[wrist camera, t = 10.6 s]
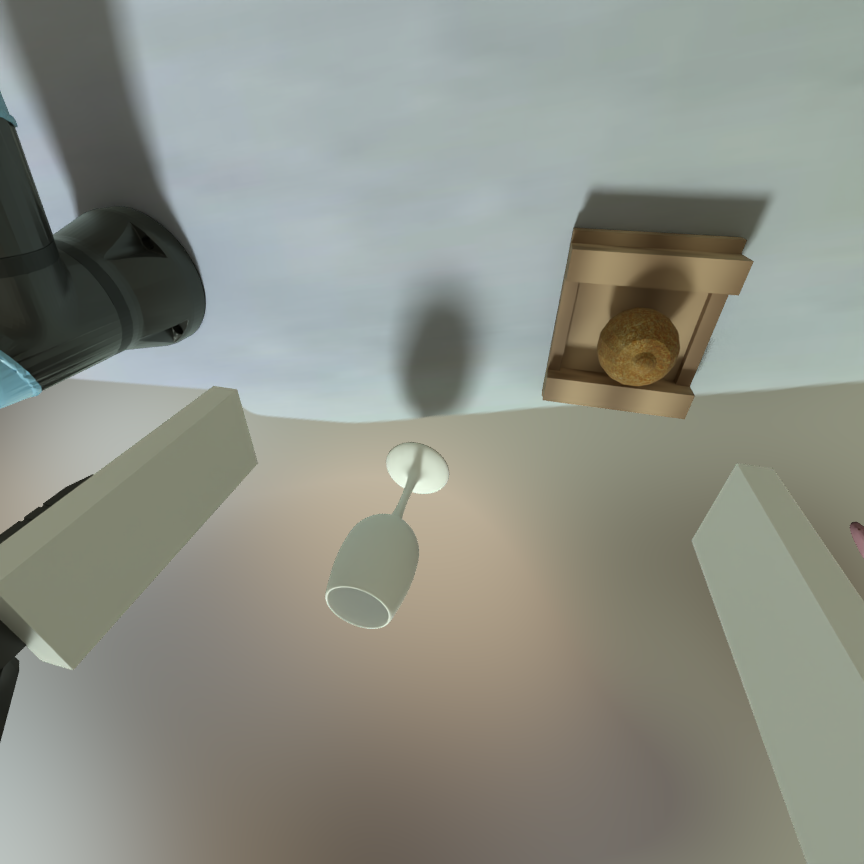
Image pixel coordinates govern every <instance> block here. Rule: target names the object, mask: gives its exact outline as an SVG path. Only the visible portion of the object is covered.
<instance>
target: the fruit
mask: <svg viewBox="0 0 864 864" xmlns="http://www.w3.org/2000/svg"><path fill="white" fill-rule="evenodd" d="M597 352H598V358H599V362H600V365H601V366H602V368H603V369H604V370H605V372H606V373H607V374H608V376H609V377H611V378H612V379H614V380H616V381H618V382H619V383H621V384H624V385H632V386H643V385H648V384H652V383H654V382H656V381H658V380H660V379H661V378H663V377H664V376H665V375H666V374H667V373H668V372H669V371H670V370H671V369H672V368H673V367H674V365H675V363H676V360H677V358H678V355H679V352H680V341H679V333H678V330H677V329H676V327H675V326H674V324H673V323H672V322H671V320H670V319H669V318H668V317H667V316H666V315H664V314H662V313H660V312H658V311H657V310H655V309H650V308H640V307H636V308H632V309H628V310H624V311H622V312H620V313H619V314H617V315H616V316H614V317H613V318H611V319H610V320H609V321H608V323H607V324H606V325H605V327H604V328H603V329H602V331H601V332H600V336H599V340H598V344H597Z"/></svg>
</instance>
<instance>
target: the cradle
mask: <svg viewBox="0 0 864 864" xmlns="http://www.w3.org/2000/svg"><path fill="white" fill-rule="evenodd" d="M746 241H747V240H746V239H744V238H742V237H728V236H710V235H693V234H676V233H658V232H641V231H624V230H606V229H589V228H573V233H572V238H571V243H570V248H569V254H568V259H567V264H566V269H565V274H564V280H563V285H562V290H561V295H560V300H559V306H558V311H557V316H556V321H555V326H554V332H553V337H552V342H551V347H550V352H549V358H548V363H547V368H546V373H545V378H544V383H543V389H542V396H543V400H546V401H553V402H561V403H568V404H576V405H583V406H591V407H598V408H605V409H613V410H620V411H628V412H635V413H643V414H651V415H658V416H665V417H672V418H681V419H685V417H686V415H687V412H688V410H689V408H690V406H691V403H692V401H693V399H694V394H693V392H692V390H691V388H690V385H691V382H692V380H693V378H694V375H695V373H696V370H697V368H698V366H699V363H700V361H701V359H702V356H703V354H704V352H705V349H706V347H707V344H708V342H709V340H710V337H711V335H712V333H713V330H714V328H715V326H716V323H717V321H718V318H719V316H720V314H721V311H722V309H723V307H724V304H725V302H726V300H727V297H728V295H739V294H740V291H741V289H742V287H743V284H744V282H745V280H746V278H747V275H748V273H749V271H750V268H751V266H752V264H753V262H754V261H752V260H750V259H749V258H747V257H746V256H744V255H742V254H741V253H742V251H743V249H744V246H745V244H746ZM636 307H640V308H650V309H655V310H657V311H658V312H660V313H662V314H664V315H666V316H667V317H668V318H669V319H670V320H671V322H672V323H673V324H674V326H675V327H676V329H677V330H678V333H679V341H680V352H679V355H678V358H677V360H676V363H675V365H674V367H673V368H672V369H671V370H670V371H669V372H668V373H667V374H666V375H665V376H664V377H663V378H661V379H660V380H658V381H656V382H654V383H652V384H648V385H643V386H632V385H624V384H621V383H619V382H618V381H616V380H614V379H612V378H611V377H609V376H608V374H607V373H606V372H605V370H604V369H603V368H602V366H601V365H600V362H599V358H598V352H597V344H598V340H599V336H600V332H601V331H602V329H603V328H604V327H605V325H606V324H607V323H608V321H609V320H610V319H611V318H613V317H614V316H616V315H617V314H619V313H620V312H622V311H624V310H628V309H632V308H636Z"/></svg>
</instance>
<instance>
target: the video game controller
mask: <svg viewBox="0 0 864 864" xmlns="http://www.w3.org/2000/svg"><path fill="white" fill-rule="evenodd" d="M850 530H851V534H852V537H853V539H854V541H855V543H856V545H857V547H858V549H859V551H860V553H861V555H862V556H863V558H864V526H862V525H861V524H860V523H858V522H852V523H851V525H850Z"/></svg>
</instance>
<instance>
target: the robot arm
mask: <svg viewBox="0 0 864 864" xmlns="http://www.w3.org/2000/svg"><path fill="white" fill-rule="evenodd" d="M15 127H18V126H17V123H16V120H15V119H14V117H12V116H11V115H10V114H9V112H8V109H7V107H6V104H5V102H4V99H3V97H2V94H1V92H0V409H1V408H3V407H6V406H8V405H11V404H14V403H16V402H18V401H21V400H24V399H26V398H29V397H34V396H37V395H39V394H40V393H41V392H42V391H43V390H45V389H47V388H49V387H51V386H53V385H55V384H57V383H59V382H61V381H63V380H65V379H67V378H69V377H71V376H74V375H76V374H78V373H80V372H82V371H84V370H86V369H88V368H90V367H92V366H94V365H96V364H98V363H100V362H102V361H104V360H106V359H108V358H110V357H112V356H114V355H116V354H118V353H120V352H122V351H124V350H130V349H140V348H149V347H159V346H168V345H172V344H175V343H177V342H180V341H181V340H183V339H185V338H187V337H189V336H191V335H192V334H194V333H195V332H196V331H197V330H198V328H199V327H200V325H201V323H202V321H203V317H204V313H205V297H204V291H203V287H202V284H201V280H200V278H199V275H198V273H197V271H196V268H195V266H194V264H193V263H192V261H191V259H190V257H189V256H188V254H187V253H186V251H185V250H184V249H183V247H182V246H181V245H180V243H179V242H178V241H177V240H176V239H175V238H174V237H173V236H172V234H171V233H169V232H168V231H167V230H166V229H165V228H164V227H163V226H162V225H160V224H159V223H158V222H156V221H155V220H154V219H152V218H150V217H149V216H147V215H145V214H143V213H141V212H139V211H137V210H134V209H131V208H127V207H120V206H114V207H106V208H100V209H94V210H91V211H88V212H86V213H84V214H82V215H81V216H79V217H78V218H76V219H75V220H73V221H72V222H71V223H69V224H68V225H66V226H65V227H64V228H62V229H61V230H59V231H58V232H56V233H55V234H54V235H53V234H52V231H51V228H50V226H49V223H48V220H47V217H46V214H45V211H44V208H43V206H42V203H41V200H40V197H39V194H38V191H37V189H36V186H35V183H34V180H33V177H32V174H31V171H30V169H29V166H28V163H27V160H26V157H25V154H24V151H23V149H22V146H21V143H20V140H19V137H18V134H17V132H16V129H15ZM257 464H258V462H257V458H256V455H255V451H254V448H253V444H252V441H251V437H250V433H249V430H248V426H247V423H246V419H245V416H244V412H243V409H242V405H241V401H240V398H239V394H238V391H237V389H230V388H223V387H217V386H213V387H212V388H210V389H209V390H208V391H206V392H205V393H204V394H202V395H201V396H200V397H198V398H197V399H195V400H194V401H193V402H191V403H190V404H189V405H187V406H186V407H185V408H183V409H182V410H181V411H179V412H178V413H177V414H175V415H174V416H172V417H171V418H170V419H168V420H167V421H166V422H164V423H163V424H162V425H160V426H159V427H158V428H156V429H155V430H154V431H152V432H151V433H149V434H148V435H147V436H145V437H144V438H143V439H141V440H140V441H139V442H137V443H136V444H135V445H133V446H132V447H131V448H129V449H128V450H127V451H125V452H124V453H122V454H121V455H120V456H118V457H117V458H116V459H114V460H113V461H112V462H111V463H109V464H108V465H106V466H105V467H104V468H102V469H101V470H100V471H98V472H97V473H96V474H94V475H90V476H88V477H86V478H84V479H82V480H80V481H78V482H76V483H74V484H72V485H69V486H67V487H66V488H64V489H63V490H61V491H60V492H58V493H57V494H56V495H55V496H53V497H52V498H50V499H49V500H48V501H46V502H45V503H43V506H42V507H38V508H36V509H35V510H34V511H32V512H31V513H29V514H28V515H27V516H25V517H24V520H23V521H18V522H17V523H16V524H14V525H13V526H12V527H10V528H9V529H7V530H6V531H5V532H3V533H2V534H0V741H1V737H2V734H3V730H4V726H5V722H6V718H7V714H8V711H9V707H10V704H11V699H12V696H13V692H14V688H15V685H16V681H17V677H18V673H19V660H18V659H17V658H15V656H16V655H17V654H18V653H19V652H20V651H21V650H22V649H23V648H24V647H25V646H27V647H28V648H29V649H30V650H31V651H32V652H33V653H34V654H35V655H36V656H37V657H38V658H39V659H40V660H41V661H44V662H47V663H51V664H54V665H58V666H61V667H64V668H68V669H71V670H74V669H75V668H76V667H77V665H78V664H79V663H80V662H81V661H82V660H83V658H84V657H85V656H86V655H87V654H88V653H89V652H90V651H91V650H92V649H93V647H94V646H95V645H96V644H97V643H98V642H99V641H100V640H101V638H102V637H103V636H104V635H105V634H106V633H107V632H108V631H109V630H110V628H111V627H112V626H113V625H114V624H115V623H116V622H117V621H118V619H119V618H120V617H121V616H122V615H123V614H124V613H125V612H126V610H127V609H128V608H129V607H130V606H131V605H132V604H133V603H134V601H135V600H136V599H137V598H138V597H139V596H140V595H141V594H142V593H143V591H144V590H145V589H146V588H147V587H148V586H149V585H150V584H151V582H152V581H153V580H154V579H155V578H156V577H157V576H158V574H159V573H160V572H161V571H162V570H163V569H164V568H165V567H166V566H167V565H168V563H169V562H170V561H171V560H172V559H173V558H174V557H175V555H176V554H177V553H178V552H179V551H180V550H181V549H182V548H183V547H184V546H185V544H186V543H187V542H188V541H189V540H190V539H191V537H193V535H194V534H195V533H196V532H197V531H198V530H199V529H200V528H201V526H202V525H203V524H204V523H205V522H206V521H207V520H208V519H209V518H210V516H211V515H212V514H213V513H214V512H215V511H216V510H217V509H218V507H219V506H220V505H221V504H222V503H223V502H224V501H225V499H226V498H227V497H228V496H229V495H230V494H231V493H232V492H233V491H234V489H235V488H236V487H237V486H238V485H239V484H240V483H241V481H242V480H243V479H244V478H245V477H246V476H247V475H248V474H249V473H250V471H251V470H252V469H253V468H254V467H255V466H256V465H257ZM692 543H693V546H694V548H695V552H696V554H697V557H698V560H699V563H700V566H701V568H702V571H703V574H704V577H705V580H706V582H707V585H708V588H709V591H710V594H711V596H712V599H713V602H714V605H715V608H716V610H717V613H718V616H719V619H720V622H721V624H722V627H723V630H724V633H725V636H726V638H727V641H728V644H729V647H730V650H731V652H732V655H733V658H734V661H735V663H736V666H737V669H738V672H739V675H740V678H741V680H742V683H743V686H744V689H745V692H746V695H747V697H748V700H749V703H750V706H751V708H752V711H753V714H754V717H755V720H756V722H757V725H758V728H759V731H760V734H761V737H762V739H763V742H764V745H765V747H766V751H767V753H768V756H769V759H770V762H771V765H772V767H773V770H774V773H775V776H776V778H777V781H778V784H779V787H780V790H781V792H782V795H783V798H784V801H785V804H786V807H787V809H788V812H789V815H790V818H791V820H792V823H793V826H794V829H795V832H796V835H797V837H798V840H799V843H800V846H801V848H802V851H803V854H804V857H805V860H806V863H807V864H864V601H863V600H862V598H861V597H860V596H859V594H858V593H857V591H856V590H855V588H854V587H853V585H852V584H851V582H850V581H849V579H848V578H847V576H846V575H845V573H844V572H843V571H842V569H841V568H840V566H839V565H838V563H837V562H836V560H835V559H834V557H833V556H832V554H831V553H830V551H829V550H828V549H827V547H826V546H825V544H824V543H823V541H822V540H821V538H820V537H819V535H818V534H817V533H816V531H815V529H814V528H813V526H812V525H811V524H810V522H809V521H808V519H807V518H806V516H805V515H804V513H803V512H802V510H801V509H800V508H799V506H798V504H797V503H796V502H795V501H794V499H793V497H792V496H791V494H790V493H789V491H788V490H787V488H786V487H785V485H784V484H783V483H782V481H781V480H780V478H779V477H778V475H777V474H776V472H775V471H774V469H773V468H766V467H760V466H753V465H745V464H739V463H737V464H736V465H735V467H734V469H733V471H732V472H731V474H730V476H729V478H728V479H727V481H726V483H725V484H724V486H723V488H722V489H721V492H720V493H719V495H718V496H717V498H716V500H715V502H714V503H713V505H712V507H711V508H710V510H709V512H708V513H707V515H706V517H705V519H704V520H703V522H702V524H701V525H700V527H699V529H698V531H697V532H696V534H695V536H694V537H693V539H692Z"/></svg>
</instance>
